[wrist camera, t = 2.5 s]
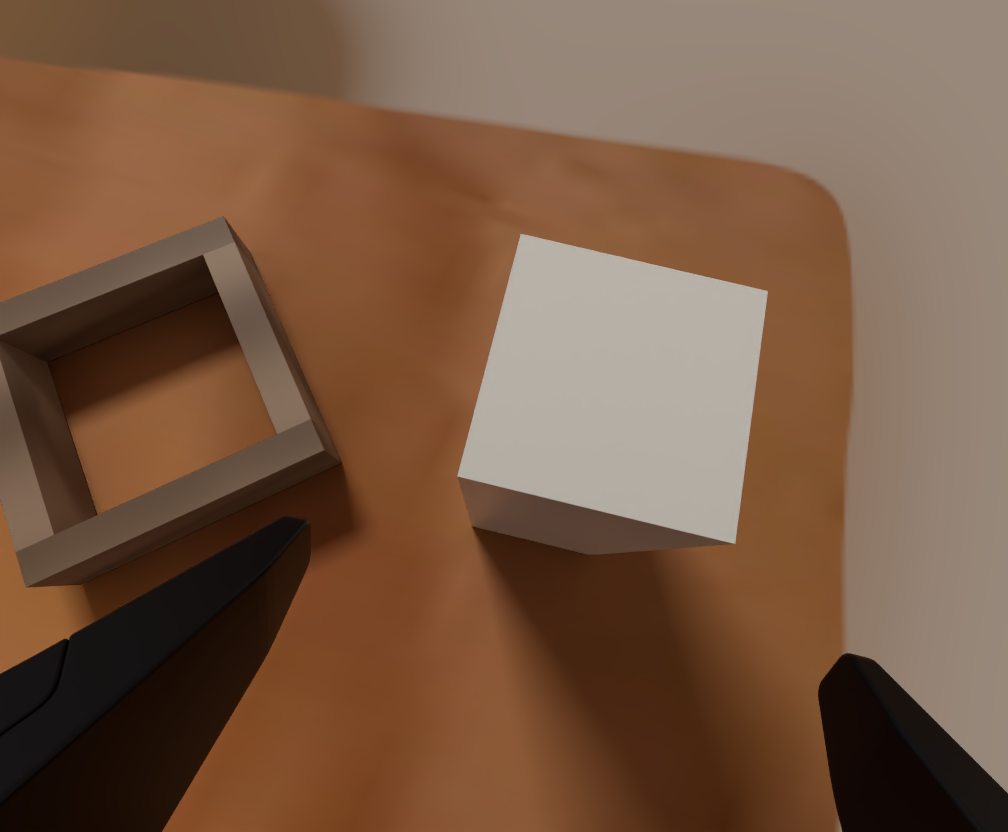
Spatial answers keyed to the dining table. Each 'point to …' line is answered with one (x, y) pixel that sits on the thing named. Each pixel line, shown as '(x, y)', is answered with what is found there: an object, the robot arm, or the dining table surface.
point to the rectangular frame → (46, 437)
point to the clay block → (613, 404)
